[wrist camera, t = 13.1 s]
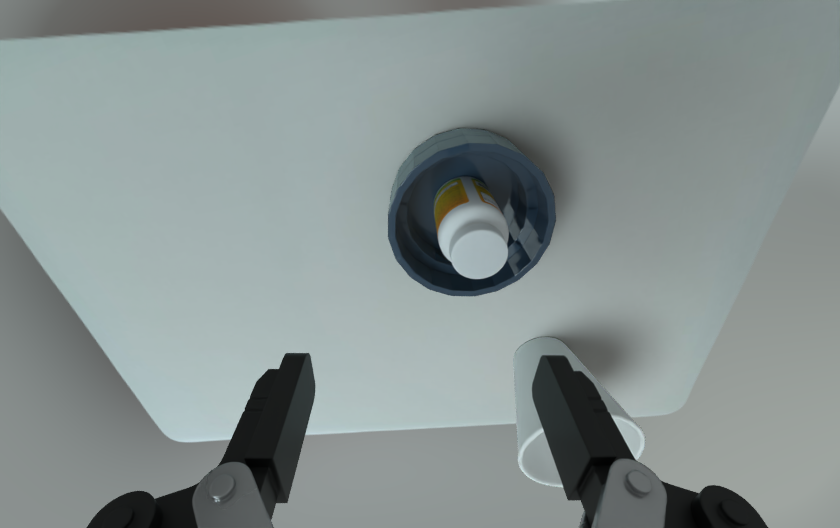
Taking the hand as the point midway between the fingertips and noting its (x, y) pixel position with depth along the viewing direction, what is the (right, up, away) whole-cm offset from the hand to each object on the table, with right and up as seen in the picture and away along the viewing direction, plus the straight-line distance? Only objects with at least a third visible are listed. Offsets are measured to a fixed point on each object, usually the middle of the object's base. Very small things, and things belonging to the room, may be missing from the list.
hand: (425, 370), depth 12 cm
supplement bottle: (+4, +9, +20) cm, 23 cm away
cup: (+15, -8, +32) cm, 36 cm away
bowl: (+4, +10, +21) cm, 23 cm away
